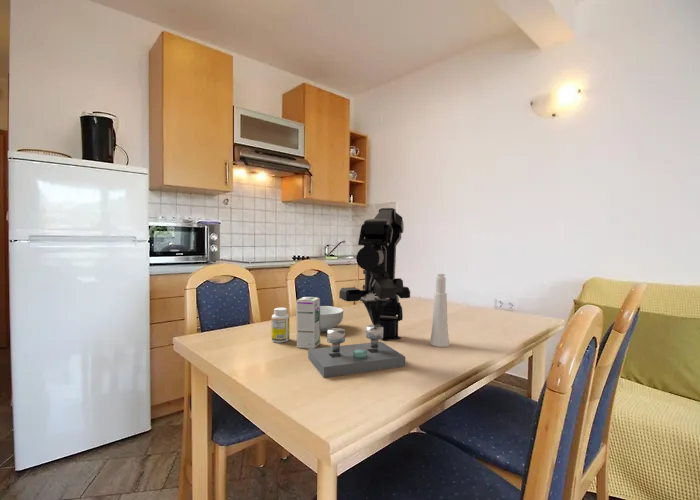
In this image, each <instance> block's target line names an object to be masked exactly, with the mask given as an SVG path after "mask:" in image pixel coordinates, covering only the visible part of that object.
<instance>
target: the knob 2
mask: <svg viewBox="0 0 700 500" xmlns="http://www.w3.org/2000/svg"><path fill="white" fill-rule="evenodd" d="M365 329H366V330H365V332H366V333H365V337H366V338H367V339H369V340H370V343H371V348H378V342H379V340H382V338H383V326H381V325H373V324H369V325H366V326H365Z"/></svg>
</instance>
